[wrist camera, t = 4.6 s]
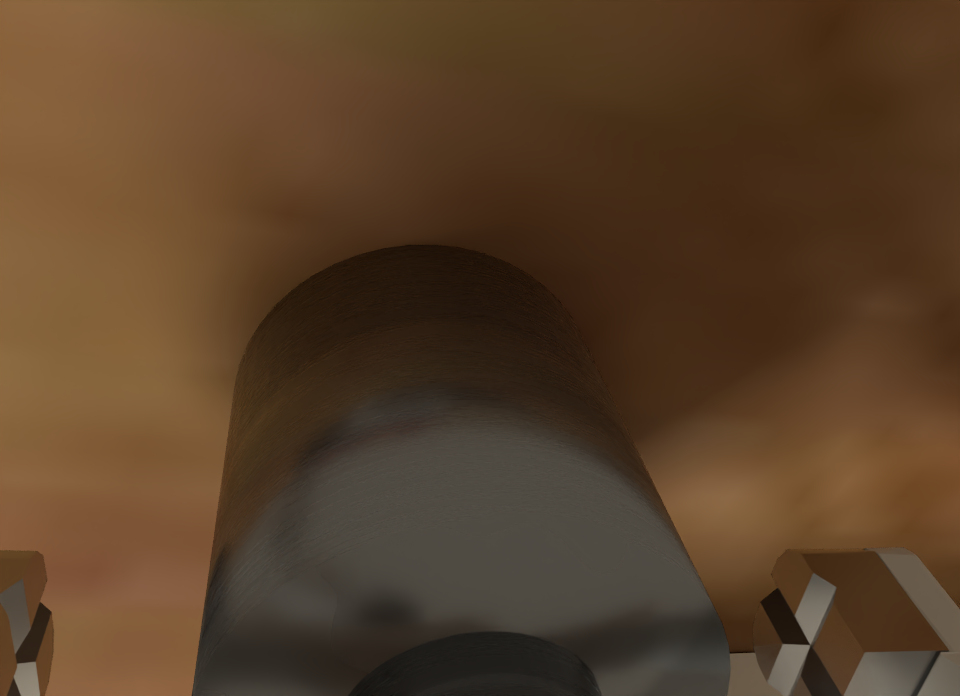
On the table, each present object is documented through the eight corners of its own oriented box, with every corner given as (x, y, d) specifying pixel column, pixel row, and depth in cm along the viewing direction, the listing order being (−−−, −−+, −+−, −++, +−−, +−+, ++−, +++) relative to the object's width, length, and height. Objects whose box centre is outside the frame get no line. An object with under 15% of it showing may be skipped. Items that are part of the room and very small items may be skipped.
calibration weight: (232, 234, 11) (142, 697, 5) (623, 255, 12) (899, 669, 6) (235, 542, 13) (175, 1086, 8) (558, 540, 14) (714, 1021, 8)
